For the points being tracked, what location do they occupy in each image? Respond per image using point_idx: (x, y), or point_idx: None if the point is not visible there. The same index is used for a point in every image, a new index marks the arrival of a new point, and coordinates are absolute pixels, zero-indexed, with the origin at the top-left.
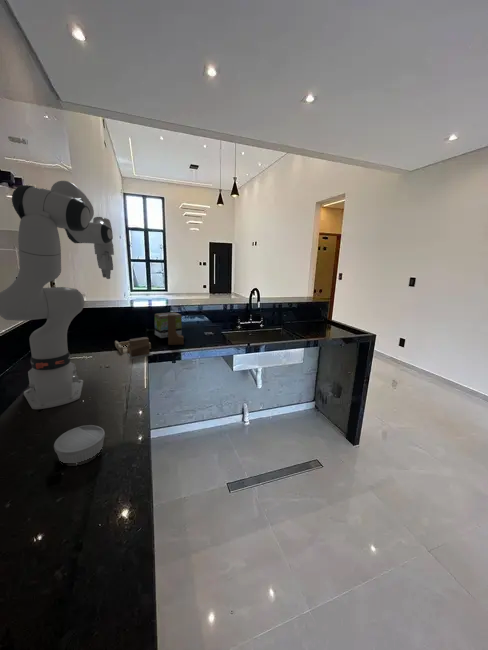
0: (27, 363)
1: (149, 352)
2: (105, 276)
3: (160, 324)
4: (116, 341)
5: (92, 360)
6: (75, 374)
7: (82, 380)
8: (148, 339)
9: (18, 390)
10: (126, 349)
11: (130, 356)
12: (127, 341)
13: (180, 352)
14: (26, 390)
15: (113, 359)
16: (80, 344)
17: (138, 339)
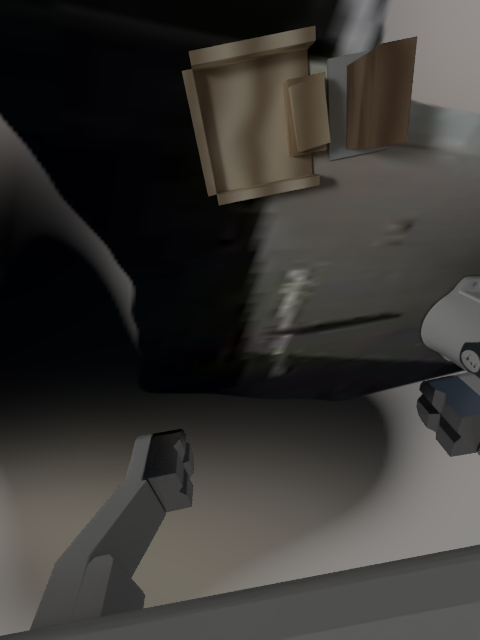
0: (284, 389)
1: (359, 56)
2: (186, 447)
3: None
4: (229, 198)
5: (330, 267)
6: (476, 297)
7: (472, 279)
8: (413, 40)
9: (421, 369)
10: (274, 158)
11: (365, 149)
12: (204, 147)
13: None
14: (448, 359)
15: (352, 209)
16: (160, 311)
17: (401, 101)
